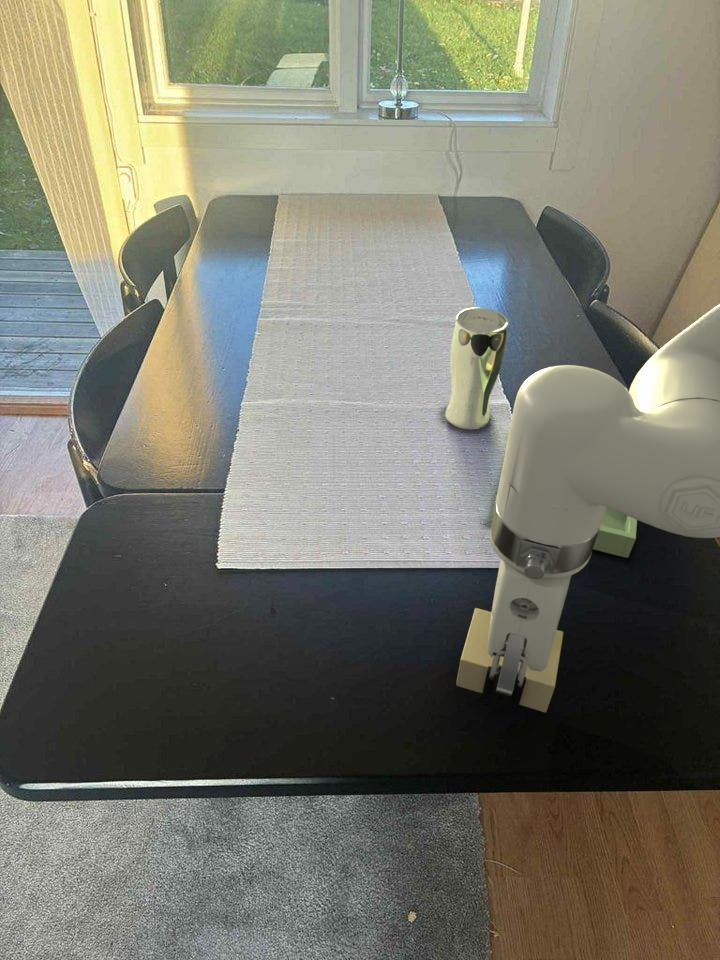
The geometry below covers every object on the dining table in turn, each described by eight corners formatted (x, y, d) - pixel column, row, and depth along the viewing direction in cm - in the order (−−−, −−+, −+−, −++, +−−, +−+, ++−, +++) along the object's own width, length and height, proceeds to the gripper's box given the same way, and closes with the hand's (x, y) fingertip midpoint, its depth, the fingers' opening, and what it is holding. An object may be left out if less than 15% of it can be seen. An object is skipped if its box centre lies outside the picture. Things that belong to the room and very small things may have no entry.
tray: (635, 464, 91) (642, 445, 89) (627, 558, 78) (636, 539, 76) (515, 437, 94) (519, 418, 92) (490, 523, 82) (494, 503, 80)
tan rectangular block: (554, 657, 65) (563, 631, 62) (546, 713, 61) (554, 687, 58) (470, 634, 67) (475, 607, 64) (455, 685, 63) (460, 659, 60)
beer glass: (502, 417, 98) (521, 320, 88) (472, 438, 94) (488, 339, 84) (462, 396, 101) (476, 301, 91) (431, 416, 97) (443, 319, 88)
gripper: (583, 631, 45) (534, 768, 56) (604, 468, 57) (560, 609, 69) (468, 600, 46) (443, 739, 58) (513, 448, 59) (485, 589, 71)
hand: (507, 667), depth 63 cm, fingers closed on tan rectangular block, 6 cm apart
